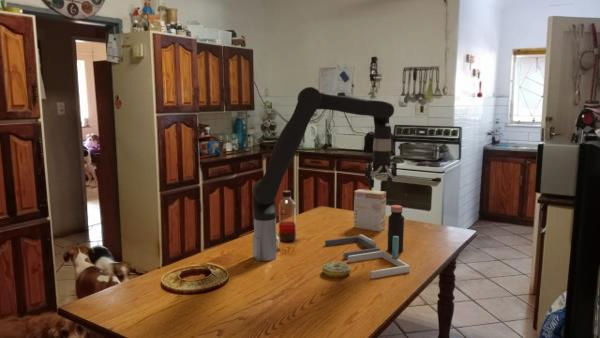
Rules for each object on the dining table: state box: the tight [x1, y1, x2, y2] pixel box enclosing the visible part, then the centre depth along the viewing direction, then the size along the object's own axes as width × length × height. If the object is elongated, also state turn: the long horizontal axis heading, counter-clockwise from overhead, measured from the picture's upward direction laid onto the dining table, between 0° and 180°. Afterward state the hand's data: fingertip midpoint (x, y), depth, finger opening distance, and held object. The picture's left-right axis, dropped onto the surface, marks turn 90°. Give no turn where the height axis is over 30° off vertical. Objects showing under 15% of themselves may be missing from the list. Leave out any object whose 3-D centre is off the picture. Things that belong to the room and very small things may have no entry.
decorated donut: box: [322, 261, 352, 279], centre depth 177 cm, size 10×11×4 cm
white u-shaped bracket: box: [347, 236, 411, 279], centre depth 183 cm, size 18×19×12 cm
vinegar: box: [387, 204, 405, 253], centre depth 202 cm, size 7×7×20 cm
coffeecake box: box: [353, 188, 387, 233], centre depth 236 cm, size 15×7×20 cm, turn 58°
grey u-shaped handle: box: [324, 233, 381, 260], centre depth 204 cm, size 18×19×4 cm
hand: (380, 187), depth 196 cm, fingers open, 8 cm apart
